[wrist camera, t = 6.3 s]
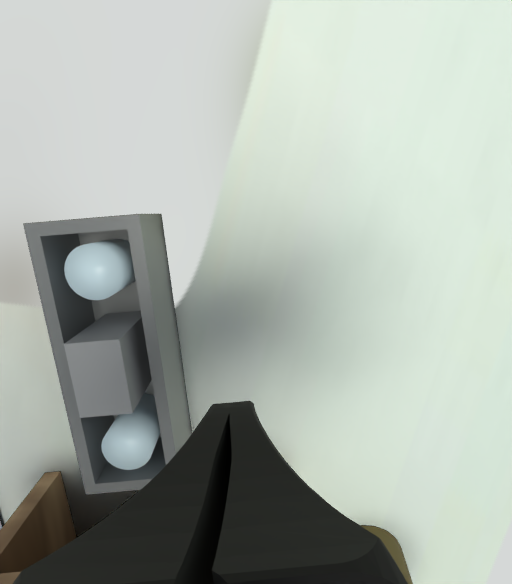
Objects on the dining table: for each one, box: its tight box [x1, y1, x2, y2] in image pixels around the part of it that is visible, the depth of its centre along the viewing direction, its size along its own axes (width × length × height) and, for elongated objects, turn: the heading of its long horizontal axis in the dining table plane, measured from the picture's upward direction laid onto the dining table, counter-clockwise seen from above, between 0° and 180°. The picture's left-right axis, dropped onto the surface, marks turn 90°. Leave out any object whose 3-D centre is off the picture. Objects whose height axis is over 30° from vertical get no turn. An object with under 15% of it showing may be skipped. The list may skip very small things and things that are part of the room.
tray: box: [23, 214, 192, 495], centre depth 18 cm, size 5×14×5 cm, turn 5°
